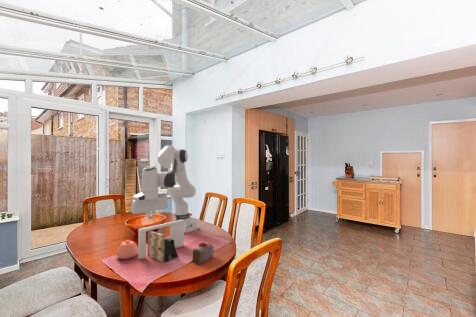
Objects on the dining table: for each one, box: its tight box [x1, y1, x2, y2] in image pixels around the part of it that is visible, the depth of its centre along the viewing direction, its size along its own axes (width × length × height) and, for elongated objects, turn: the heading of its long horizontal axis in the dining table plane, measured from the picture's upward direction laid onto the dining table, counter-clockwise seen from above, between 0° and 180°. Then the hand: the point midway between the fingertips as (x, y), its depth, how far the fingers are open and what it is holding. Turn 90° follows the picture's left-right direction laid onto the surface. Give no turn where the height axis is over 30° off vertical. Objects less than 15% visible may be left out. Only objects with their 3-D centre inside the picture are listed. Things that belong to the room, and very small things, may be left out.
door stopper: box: [164, 237, 179, 263], centre depth 136 cm, size 9×6×12 cm, turn 143°
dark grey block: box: [191, 242, 215, 265], centre depth 135 cm, size 14×8×10 cm, turn 151°
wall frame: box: [137, 219, 185, 260], centre depth 145 cm, size 30×2×18 cm, turn 134°
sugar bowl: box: [116, 239, 138, 261], centre depth 138 cm, size 12×14×10 cm
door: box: [148, 230, 165, 263], centre depth 135 cm, size 14×4×16 cm, turn 57°
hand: (150, 218), depth 127 cm, fingers closed
